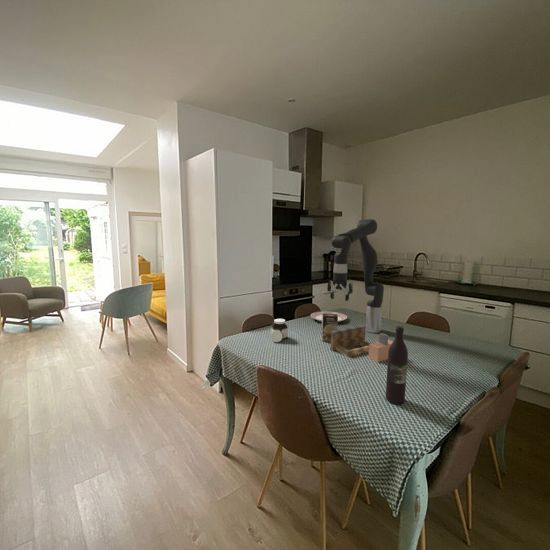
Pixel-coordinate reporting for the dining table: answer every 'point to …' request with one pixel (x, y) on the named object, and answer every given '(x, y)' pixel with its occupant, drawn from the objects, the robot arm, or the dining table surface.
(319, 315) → the dinner plate
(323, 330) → the coffee box
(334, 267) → the robot arm
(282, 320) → the spread jar
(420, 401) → the dining table surface
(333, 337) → the brown grey open box
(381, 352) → the tan box with handle
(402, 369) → the wine bottle
